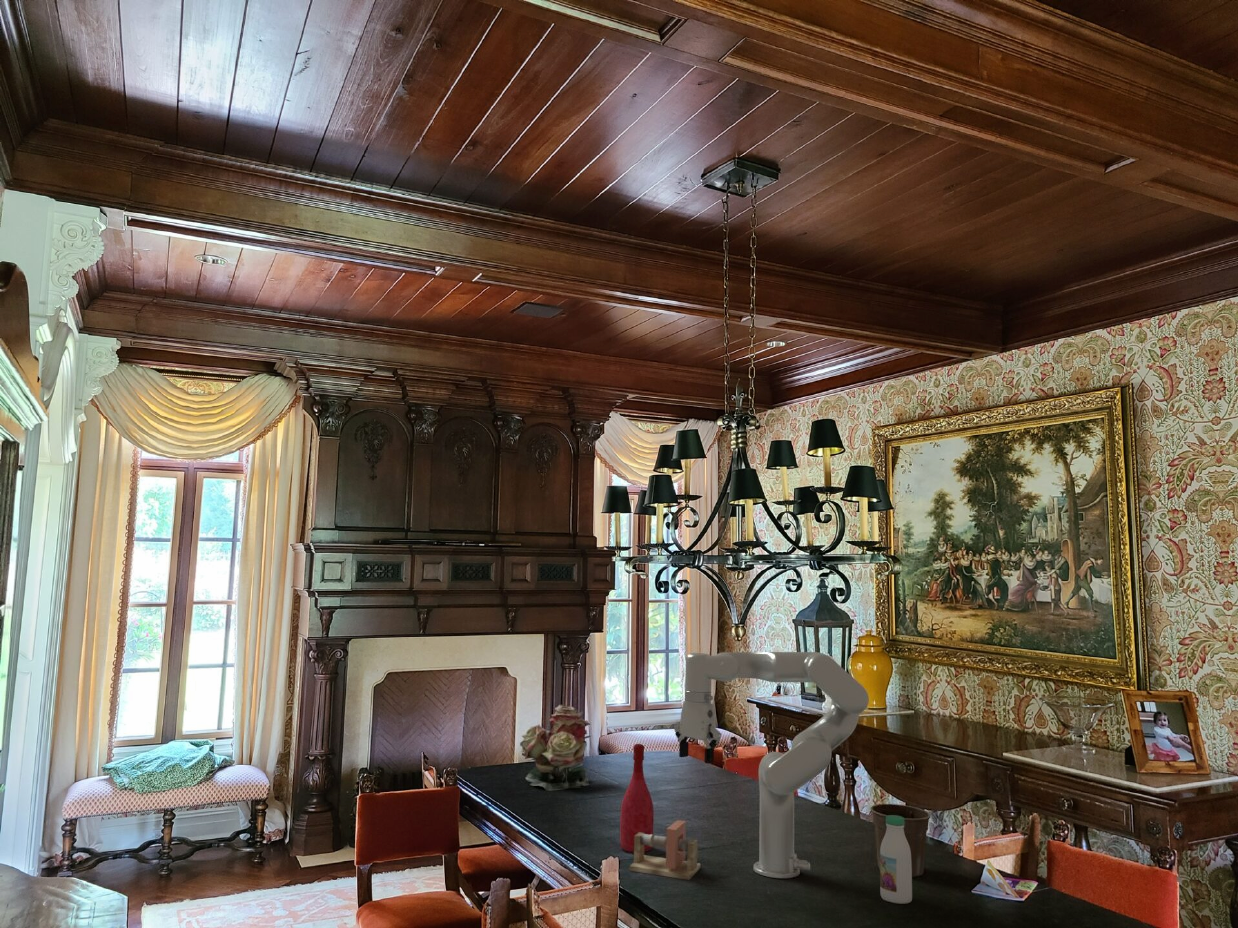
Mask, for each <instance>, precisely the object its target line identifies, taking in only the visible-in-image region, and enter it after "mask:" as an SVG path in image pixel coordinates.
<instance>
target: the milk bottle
mask: <svg viewBox="0 0 1238 928" xmlns="http://www.w3.org/2000/svg"><path fill="white" fill-rule="evenodd" d="M886 825H887V830H886V833H885V836H884V838H883V841H882V843H881V848H880V869H879V885H880V886H879V887H880V888H879V891H880V896H881V899H882V900H884V901H886V902H889V903H892V904H899V905H900V904H901V905H902V904H903V905H904V904H909V903H911V902H912V900H913V883H912V882H913V877H912V866H911V851H910V847H909V844H908V842H907V839H906V837H905V834H904V829H903V828H904V818H903V817H901V816H897V815H888V816H886Z"/></svg>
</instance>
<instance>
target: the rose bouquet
mask: <svg viewBox="0 0 1238 928" xmlns="http://www.w3.org/2000/svg"><path fill="white" fill-rule="evenodd" d="M554 711H555V712H554V713H553V714H551V717H550V718H549V723H550V726H551V730H547V729H545V728H543V727H542V726H541V724H537V725H534V726H530V727H529V729H528V730H527V731H526V733H525V734H523V735H521V737H522V738H523V739H522V741H521V742H520V743H519V746H520V747H521V751H520V753H521V755H522V756H523V757H524V759H525V760H527V759H529V760H528V762H530V761H533V762H535V766H534V767H532V768H531V769H530V770H529V771H528V774H527V775H526V776H525V781H527V782H530V784H529V785H530V786H533V787H534V786H539V787H543V788H544V790H546V791H548V792H549V791H561V790H565V789H566V790H567V789H575V788H576V789H581V788H582V787H581V786H589V785H590V782H589V778H588V777H587V776H588V775H587V774H586V770H587V767H585V766H584V767H583V766H582V765H583V764H584V763H583V762H584V754H585V751H586V748H587V746H588V744H587V741H586V739H589V738H591V737H592V735H588V732H587V731H588V730H587V729H586V727H587V726H589V725H591V723H589V721H588V720H585V719H583V718H582V715H583V714H584V710H581V711H580V712H579V711H578V709H576V708H575V707H574V706H570V705H567V706H566V705H565V704H558V706H557V707H554ZM586 735H587V736H586ZM580 763H581V764H580ZM577 764H579V765H577ZM576 765H577V766H576ZM574 766H575V767H574ZM570 767H572V768H571V769H570Z"/></svg>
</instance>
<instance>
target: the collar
mask: <svg viewBox="0 0 1238 928" xmlns="http://www.w3.org/2000/svg"><path fill="white" fill-rule="evenodd" d="M686 828H687V821H686V820H681V819H680V820H679V819H677V820H676V821H674V822H673V823H672V824H671V825H669V826H668V827H667V828H666V836H665V837H666V848H665V858H666V868H671V869H675V868H676V867H677V866H678V865H679V864H680V863H681V862H682V861H685V860H686V851H683V850H678V839H684V840H687V838H686V837H687V836H686V835H687V829H686Z"/></svg>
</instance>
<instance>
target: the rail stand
mask: <svg viewBox="0 0 1238 928" xmlns="http://www.w3.org/2000/svg"><path fill="white" fill-rule="evenodd" d="M644 845H648V846H650V847H652V848H653V847H656V848H664V849H666V836H663V835H662V836H661V835H656V834H653V835H652V834H650V835H648V834H645V833H642V832H639V833H638V834H636V835H635V837H634V853H633V862H632V863H631V864H630V865H629V868H628V870H629V871H630V872H636V873H642V874H648V875H649V874H650V875H654V876H655V875H656V876H662V877H668V878H675V879H681V880H688V881H690V880H691V879H692V878H693V877H694V876H695V874H696V873H697V872H698V871H699V870H700V869H701V863H700V862H698V839H686V840H684V839H678V850H683V851H685V852H687V859H686V860H683V861H682V862H681V863H680V864H679V865H678V866H677V867H676V868H675V869H671V868H666V857H660V856H652V855H646V854H645V852H644Z"/></svg>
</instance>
